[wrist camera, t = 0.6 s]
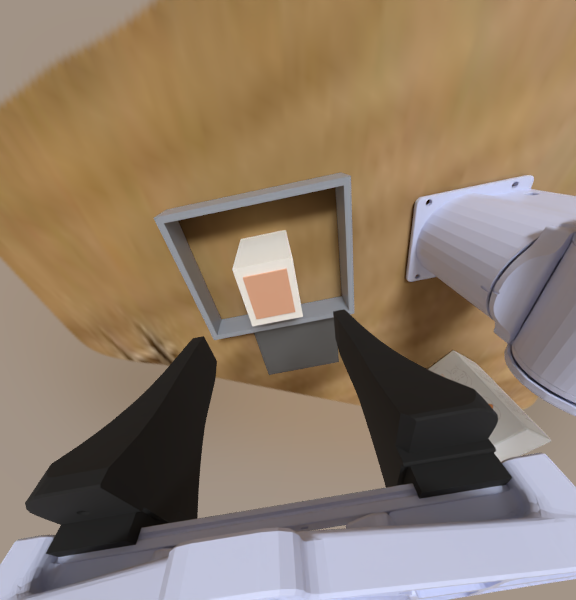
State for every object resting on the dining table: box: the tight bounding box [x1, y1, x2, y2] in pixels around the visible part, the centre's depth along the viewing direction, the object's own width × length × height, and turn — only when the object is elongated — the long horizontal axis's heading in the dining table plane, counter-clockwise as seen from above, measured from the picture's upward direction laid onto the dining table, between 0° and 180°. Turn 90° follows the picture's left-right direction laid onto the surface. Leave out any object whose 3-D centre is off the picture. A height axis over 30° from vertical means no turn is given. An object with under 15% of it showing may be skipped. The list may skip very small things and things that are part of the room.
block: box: [232, 230, 303, 326], centre depth 19 cm, size 4×5×6 cm
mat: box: [254, 317, 339, 375], centre depth 27 cm, size 9×8×1 cm
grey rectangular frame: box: [154, 173, 354, 340], centre depth 20 cm, size 14×12×2 cm
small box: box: [428, 350, 551, 462], centre depth 29 cm, size 8×6×10 cm
